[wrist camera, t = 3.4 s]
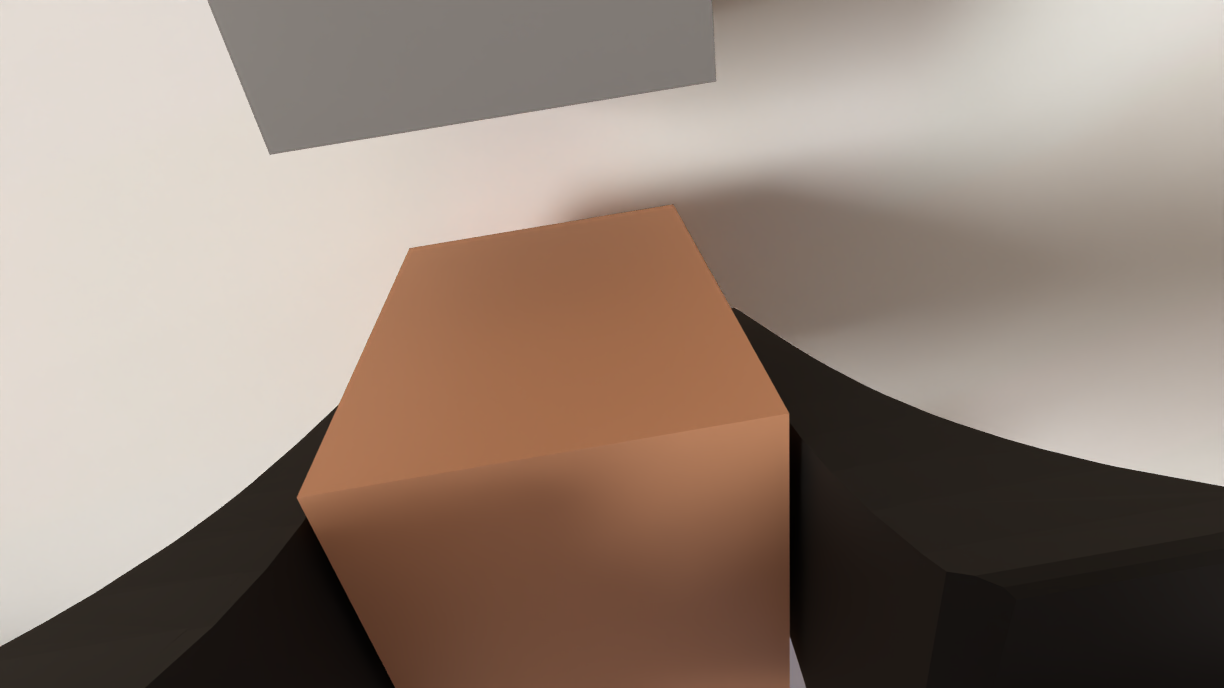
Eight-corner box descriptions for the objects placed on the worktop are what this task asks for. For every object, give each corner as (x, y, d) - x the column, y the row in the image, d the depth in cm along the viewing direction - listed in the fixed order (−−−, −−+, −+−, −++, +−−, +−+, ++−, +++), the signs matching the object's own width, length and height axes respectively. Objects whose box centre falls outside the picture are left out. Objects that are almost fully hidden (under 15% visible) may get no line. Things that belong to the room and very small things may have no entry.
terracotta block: (693, 416, 13) (790, 700, 8) (474, 453, 13) (434, 762, 8) (672, 204, 11) (789, 413, 6) (409, 248, 11) (296, 497, 6)
